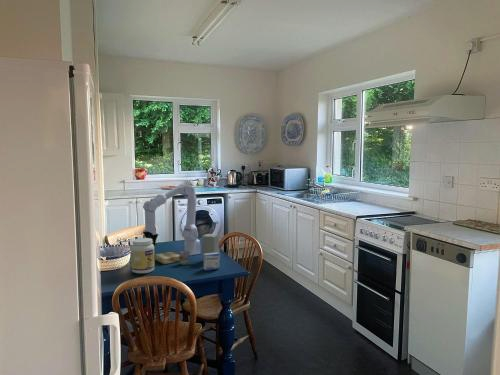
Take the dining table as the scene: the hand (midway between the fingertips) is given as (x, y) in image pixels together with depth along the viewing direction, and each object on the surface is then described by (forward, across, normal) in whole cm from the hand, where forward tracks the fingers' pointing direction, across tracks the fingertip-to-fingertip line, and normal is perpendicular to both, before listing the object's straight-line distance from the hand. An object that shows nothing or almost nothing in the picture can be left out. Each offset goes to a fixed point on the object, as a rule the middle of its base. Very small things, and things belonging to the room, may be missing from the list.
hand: (150, 244), depth 221 cm
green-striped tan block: (+10, +2, +10) cm, 14 cm away
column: (+10, +14, +15) cm, 23 cm away
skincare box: (+11, +17, +30) cm, 36 cm away
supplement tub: (+10, +14, -9) cm, 19 cm away
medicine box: (+11, +31, +24) cm, 40 cm away
